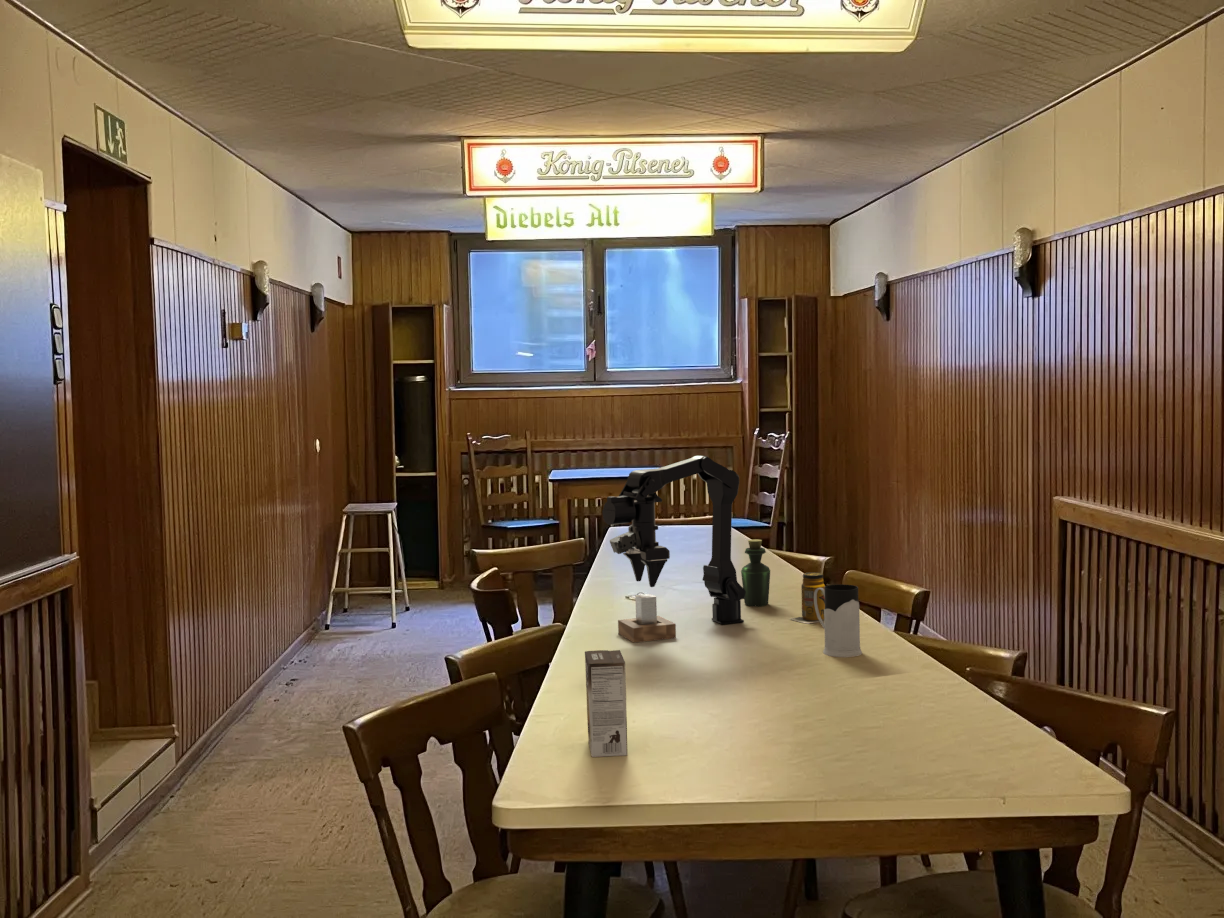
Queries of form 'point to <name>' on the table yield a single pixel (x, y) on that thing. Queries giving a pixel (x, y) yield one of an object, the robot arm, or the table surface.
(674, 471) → the robot arm
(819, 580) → the condiment
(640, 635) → the block
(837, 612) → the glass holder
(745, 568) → the potion bottle
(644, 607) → the grey long rectangular block
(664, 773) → the table surface
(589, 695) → the coffee box
